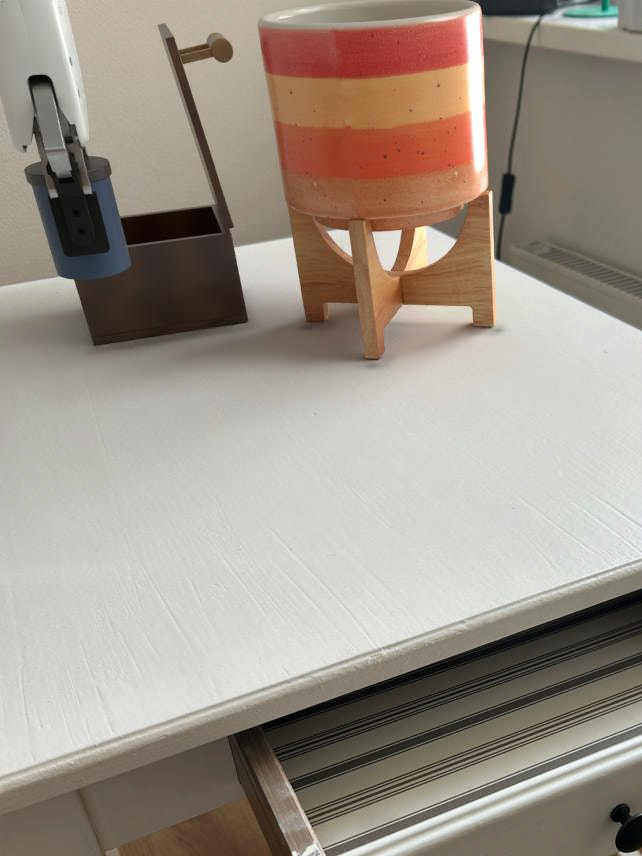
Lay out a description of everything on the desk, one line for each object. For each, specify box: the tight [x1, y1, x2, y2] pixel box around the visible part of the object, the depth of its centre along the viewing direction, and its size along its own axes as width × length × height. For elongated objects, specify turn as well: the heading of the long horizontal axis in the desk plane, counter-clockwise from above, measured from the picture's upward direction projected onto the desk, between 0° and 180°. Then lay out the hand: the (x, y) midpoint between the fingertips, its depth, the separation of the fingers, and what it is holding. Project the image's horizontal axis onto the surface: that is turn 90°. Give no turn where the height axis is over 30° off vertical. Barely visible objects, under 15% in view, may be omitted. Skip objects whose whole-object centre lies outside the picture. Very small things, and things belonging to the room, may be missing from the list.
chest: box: [73, 203, 249, 346], centre depth 102 cm, size 16×13×9 cm
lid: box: [157, 22, 235, 230], centre depth 96 cm, size 16×13×6 cm
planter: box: [257, 0, 497, 360], centre depth 91 cm, size 20×20×27 cm
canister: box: [23, 155, 131, 281], centre depth 72 cm, size 6×6×7 cm
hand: (87, 239), depth 73 cm, fingers closed on canister, 5 cm apart
